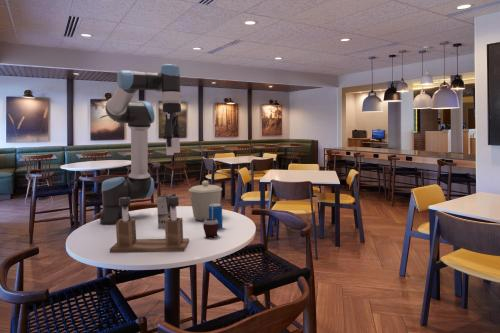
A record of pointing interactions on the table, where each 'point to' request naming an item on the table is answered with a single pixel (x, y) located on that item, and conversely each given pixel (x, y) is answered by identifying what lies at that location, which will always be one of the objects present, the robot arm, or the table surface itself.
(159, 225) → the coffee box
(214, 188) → the canister
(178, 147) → the robot arm
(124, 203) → the plunger
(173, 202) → the plunger
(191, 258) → the table surface
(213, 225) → the mate gourd
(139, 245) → the stand
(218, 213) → the beverage can
